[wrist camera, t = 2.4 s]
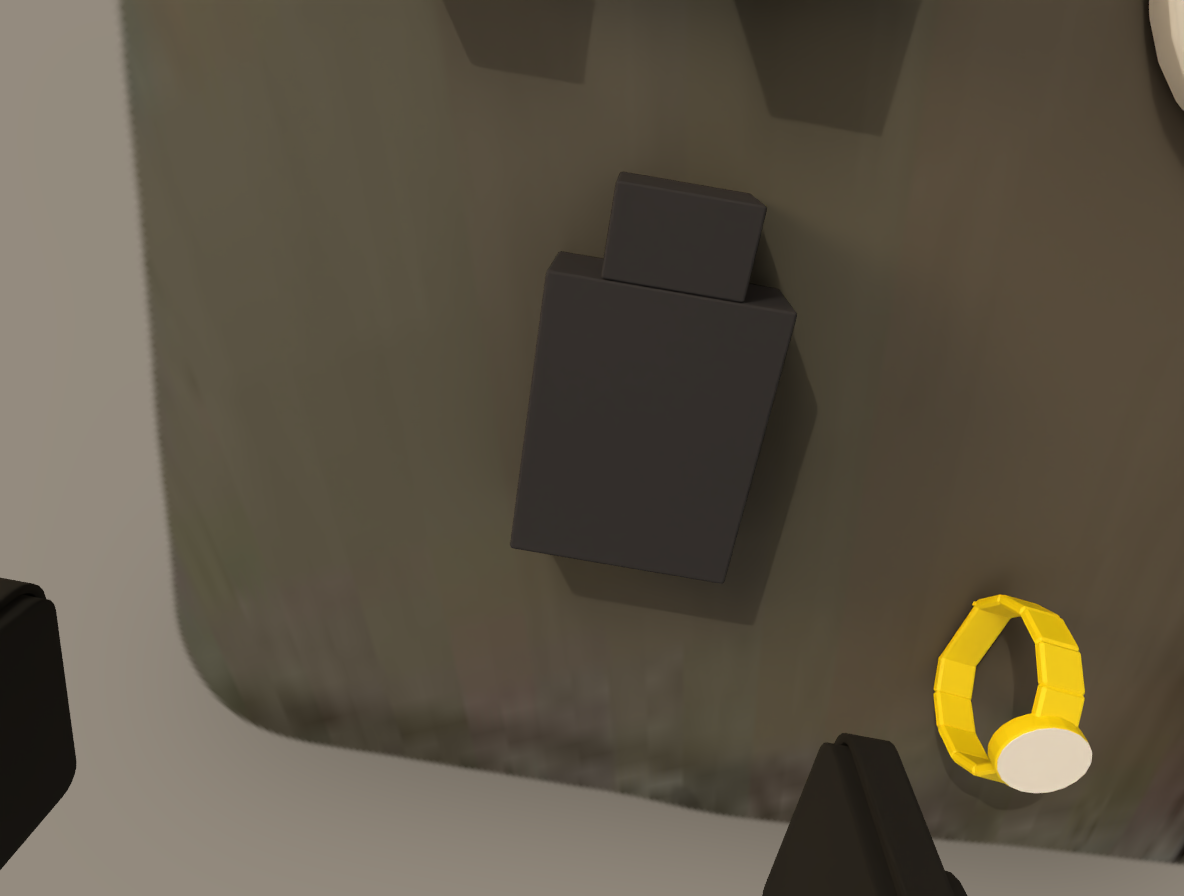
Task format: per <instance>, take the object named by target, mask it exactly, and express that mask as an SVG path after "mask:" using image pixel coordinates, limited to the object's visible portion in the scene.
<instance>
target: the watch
mask: <svg viewBox="0 0 1184 896" xmlns="http://www.w3.org/2000/svg"><path fill="white" fill-rule="evenodd" d="M972 605H973V606H974V607H973V608H972V610H971V611H970V613H969V614H968V616H967V617H966V619H965V620H964V622H963V623H962V625H961V626H960V628H959V629H958V630H957V632H956V633H955V635H954V636H953V638H952V639H951V641H950V642H949V644H948V645H947V647H946V648H945V650H944V651H943V653H942V654H941V655H940V656H939V658H938V665H937V671H936V677H935V684H934V691H935V693H934V703H935V713H936V722H937V727H938V728H939V729H938V731H939V733H940V735H941V737H942V739H943V741H944V744H945V746H946V748H947V750H948V752H949V754H950V756H951V758H953V760H954V762H955V763H957V764H958V765H960V766H961V767H963V768H964V769H966V770H967V771H969V772H970V773H971V774H973V775H975V776H979V777H982V778H986V779H990V780H994V781H998V782H1001V783H1005V784H1006V785H1008V786H1010V787H1012V788H1014V789H1017V790H1019V791H1022V792H1030V793H1045V792H1052V791H1055V790H1059V789H1062V788H1065V787H1067V786H1069V785H1070V784H1072V783H1074V782H1076V781H1077V780H1078V779H1079V778H1080V777H1082V776H1083V775H1084V774H1085V773H1086V771H1087V769H1088V768H1089V766H1090V764H1091V760H1092V751H1091V748H1090V746H1089V743H1088V741H1087V740H1086V738H1085V736H1084V735H1083V733H1082V732H1081V730H1080V729H1079V727H1078V725H1079V721H1080V717H1081V713H1082V708H1083V704H1084V700H1085V698H1084V697H1083V695H1084V694H1085V688H1084V679H1083V670H1082V662H1081V654H1080V652H1078V650H1079V648H1078V646H1077V644H1076V642H1075V640H1074V639H1073V637H1072V635H1071V633H1070V632H1069V630H1068V628H1067V626H1066V625H1065V623H1064V621H1063V619H1060V617H1059V615H1057V614H1055V613H1053V612H1051V611H1049V610H1047V609H1045V608H1044V607H1042V606H1040V605H1038V604H1035V603H1032V602H1028V601H1025V600H1021V599H1017V598H1014V597H1010V596H1007V595H1001V594H999V595H995V596H991V597H987V598H983V599H979V600H977V601H976V602H975V601H974V602H973V604H972ZM1019 616H1021V617H1022V619H1023V621H1024V623H1025V625H1026V627H1027V629H1028V631H1029V633H1030V635H1031V637H1032V639H1033V641H1034V643H1035V649H1036V661H1037V673H1038V683H1039V685H1038V688H1037V692H1036V696H1035V700H1034V705H1033V709H1032V713H1031V714H1026V715H1023V716H1020V717H1017V718H1014V719H1012V720H1010V721H1009V722H1007V723H1005V724H1003V725H1002V726H1001V727H1000V728H999V729H998V730H997V731H996V732H995V733H994V734H993V736H992V738H991V740H990V742H989V744H988V756H987V755H986V753H985V751H984V749H983V747H982V745H981V743H980V741H979V740H978V738H977V736H976V732H975V725H974V718H973V710H972V703H971V698H972V691H973V685H974V678H975V671H976V666H977V665H978V663H979V662H980V660H981V659H982V658H983V656H984V655H985V653H986V652H987V651H988V649H989V648H990V646H991V645H992V644H993V642H994V641H995V639H996V638H997V637H998V635H999V634H1000V633H1001V631H1002V630H1003V628H1004V627H1005V626H1006V624H1007V623H1008V621H1009V620H1010V619H1011V618H1014V617H1019ZM988 757H989V758H988ZM989 759H990V760H989Z"/></svg>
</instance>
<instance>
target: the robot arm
mask: <svg viewBox="0 0 1184 896" xmlns="http://www.w3.org/2000/svg"><path fill="white" fill-rule="evenodd" d="M1149 19H1150V24H1151V29H1152V34H1153V39H1154V44H1155V49H1156V54H1157V59H1158V63H1159V65H1160V67H1161V70H1162V72H1163V74H1164V76H1165V78H1166V81H1167V83H1168V85H1169V87H1170V89H1171V92H1172V94H1173V96H1174V98H1175V101H1176V102H1177V103H1178V105H1179V106H1180V107H1181V108H1182V110H1183V111H1184V0H1149ZM75 770H76V756H75V748H74V741H73V733H72V727H71V719H70V712H69V704H68V697H67V689H66V682H65V674H64V667H63V659H62V652H61V646H60V637H59V631H58V623H57V616H56V609H55V606H54V604H53V603H52V601H50V600H47V599H46V597H45V594H44V591H43V590H42V589H41V588H40V586H38V585H35V584H31V583H26V582H20V581H15V580H10V579H4V578H0V870H1V869H2V867H3V866H4V865H5V864H6V863H7V861H8V860H9V859H10V858H11V857H12V856H13V854H14V853H15V852H16V851H17V850H18V848H19V847H20V846H21V845H22V844H23V843H24V841H25V840H26V839H27V838H28V837H29V836H30V834H31V833H32V832H33V831H34V830H35V829H36V827H37V826H38V825H39V824H40V823H41V821H42V820H43V819H44V818H45V817H46V816H47V814H48V813H49V812H50V811H51V810H52V808H53V807H54V806H55V805H56V804H57V803H58V801H59V800H60V799H61V798H62V797H63V795H64V794H65V793H66V791H67V790H68V788H69V786H70V784H71V782H72V779H73V777H74V774H75ZM762 896H967V894H966V892H965V890H964V888H963V887H962V885H961V883H960V881H959V880H958V879H957V878H956V877H955V876H954V875H953V874H952V873H951V872H948V871H945V870H944V868H943V865H942V863H941V860H940V858H939V855H938V853H937V850H936V847H935V845H934V842H933V840H932V837H931V835H930V832H929V830H928V827H927V825H926V822H925V820H924V817H923V815H922V812H921V810H920V807H919V805H918V802H917V799H916V797H915V794H914V792H913V789H912V787H911V784H910V782H909V779H908V777H907V774H906V772H905V769H904V767H903V764H902V762H901V759H900V756H899V754H898V752H897V750H896V748H895V746H894V745H893V744H892V743H891V742H890V741H885V740H879V739H874V738H869V737H863V736H858V735H852V734H847V733H842V734H841V735H839V736H838V737H837V739H836V741H835V743H834V744H832V743H824V744H823V745H822V746H821V747H820V749H819V752H818V754H817V757H816V759H815V762H814V764H813V767H812V769H811V772H810V774H809V777H808V779H807V782H806V784H805V787H804V789H803V792H802V794H801V797H800V799H799V802H798V804H797V807H796V809H795V812H794V814H793V817H792V819H791V822H790V824H789V827H788V829H787V832H786V834H785V837H784V839H783V842H782V844H781V847H780V849H779V852H778V854H777V857H776V859H775V862H774V864H773V867H772V869H771V872H770V874H769V877H768V879H767V882H766V884H765V887H764V890H763V895H762Z"/></svg>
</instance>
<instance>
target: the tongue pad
mask: <svg viewBox="0 0 1184 896" xmlns="http://www.w3.org/2000/svg"><path fill="white" fill-rule="evenodd" d="M766 211H767V207H766V206H765V205H764V204H763V203H761V202H760V201H759V200H758V199H756V198H755V197H754V196H752V195H751V194H749V193H743V192H737V191H732V190H726V189H720V188H714V187H708V186H703V185H697V184H691V183H685V182H679V181H674V180H668V179H662V178H656V177H650V176H645V175H639V174H633V173H627V172H621V173H620V174H619V177H618V179H617V182H616V185H615V192H614V198H613V204H612V210H611V216H610V223H609V229H608V235H607V241H606V247H605V253H604V259H602V258H597V257H591V256H585V255H579V254H573V253H567V252H562V251H561V252H558V254H557V256H556V257H555V259H554V261H553V262H552V264H551V265H550V267H549V269H548V270H547V272H546V277H545V285H544V292H543V300H542V307H541V315H540V323H539V330H538V338H537V345H536V353H535V360H534V368H533V376H532V383H531V391H530V398H529V406H528V413H527V421H526V429H525V436H524V444H523V451H522V459H521V466H520V474H519V481H518V489H517V497H516V504H515V512H514V519H513V527H512V534H511V542H510V546H511V548H515V549H521V550H527V551H532V552H538V553H544V554H550V555H556V556H562V557H568V558H574V559H580V560H585V561H591V562H597V563H603V564H609V565H615V566H621V567H627V568H633V569H638V570H644V571H650V572H656V573H662V574H668V575H674V576H680V577H686V578H691V579H697V580H703V581H709V582H715V583H721V584H722V583H724V581H725V578H726V574H727V570H728V567H729V563H730V559H731V556H732V552H733V548H734V545H735V541H736V537H737V534H738V530H739V526H740V523H741V519H742V515H743V512H744V508H745V504H746V501H747V497H748V493H749V490H750V486H751V482H752V479H753V475H754V471H755V468H756V464H757V460H758V457H759V453H760V449H761V446H762V442H763V438H764V435H765V431H766V427H767V424H768V420H769V416H770V413H771V409H772V405H773V402H774V398H775V394H776V391H777V387H778V383H779V380H780V376H781V372H782V369H783V365H784V361H785V358H786V354H787V350H788V347H789V343H790V339H791V336H792V332H793V328H794V325H795V321H796V317H797V313H796V312H795V310H794V309H793V308H792V306H791V305H790V304H789V302H788V301H787V300H786V298H785V297H784V296H783V294H782V293H781V292H780V290H779V289H777V288H771V287H765V286H759V285H754V284H749V281H750V277H751V273H752V268H753V264H754V260H755V256H756V252H757V248H758V244H759V240H760V235H761V231H762V227H763V223H764V219H765V215H766Z"/></svg>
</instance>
